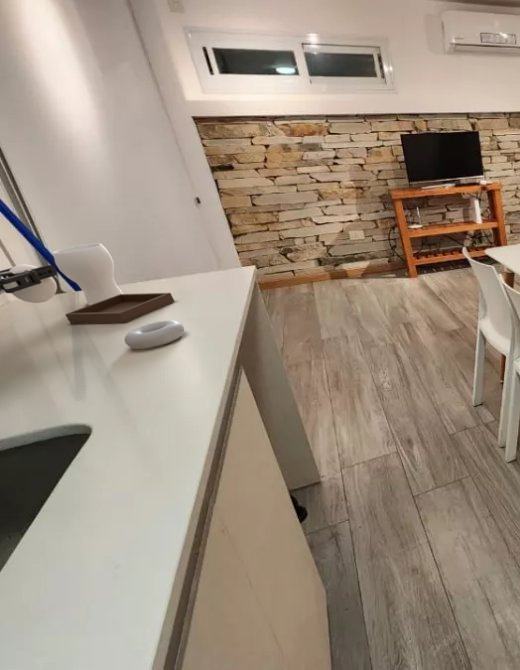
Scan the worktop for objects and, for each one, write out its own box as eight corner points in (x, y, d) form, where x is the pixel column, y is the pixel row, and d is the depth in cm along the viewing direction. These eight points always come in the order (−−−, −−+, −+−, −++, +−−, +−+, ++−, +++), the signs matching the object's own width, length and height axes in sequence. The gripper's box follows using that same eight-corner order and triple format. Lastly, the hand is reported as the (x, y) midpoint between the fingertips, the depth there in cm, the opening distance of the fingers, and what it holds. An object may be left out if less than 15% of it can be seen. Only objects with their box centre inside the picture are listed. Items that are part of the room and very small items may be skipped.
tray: (70, 323, 118) (64, 314, 116) (124, 302, 130) (120, 294, 129) (125, 322, 116) (119, 313, 115) (174, 301, 128) (170, 292, 127)
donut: (140, 356, 98) (195, 335, 105) (131, 341, 96) (188, 321, 104) (122, 347, 103) (175, 328, 110) (113, 333, 101) (168, 314, 109)
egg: (54, 303, 95) (31, 266, 92) (11, 310, 93) (-13, 271, 90) (70, 294, 101) (50, 258, 97) (31, 300, 98) (8, 263, 95)
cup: (132, 290, 139) (106, 240, 133) (130, 299, 132) (102, 247, 125) (83, 301, 133) (53, 249, 127) (78, 311, 126) (46, 256, 119)
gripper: (-53, 279, 79) (59, 251, 94) (-123, 281, 81) (-2, 253, 96) (-24, 320, 82) (79, 286, 97) (-92, 321, 84) (20, 288, 99)
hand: (38, 270), depth 96 cm, fingers closed on egg, 6 cm apart
